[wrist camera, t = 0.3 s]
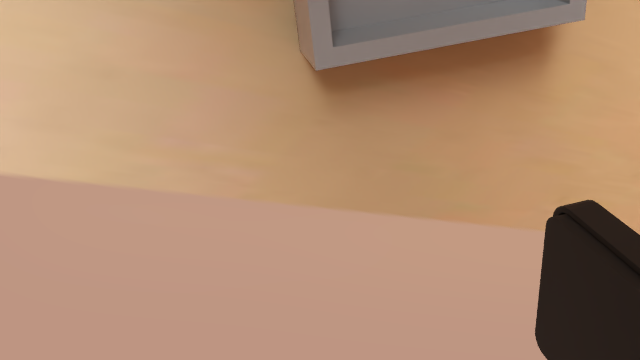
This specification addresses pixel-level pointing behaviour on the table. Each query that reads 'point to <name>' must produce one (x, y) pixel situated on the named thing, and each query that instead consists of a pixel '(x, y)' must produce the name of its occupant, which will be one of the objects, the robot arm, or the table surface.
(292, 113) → the table surface
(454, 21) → the bin
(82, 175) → the table surface
